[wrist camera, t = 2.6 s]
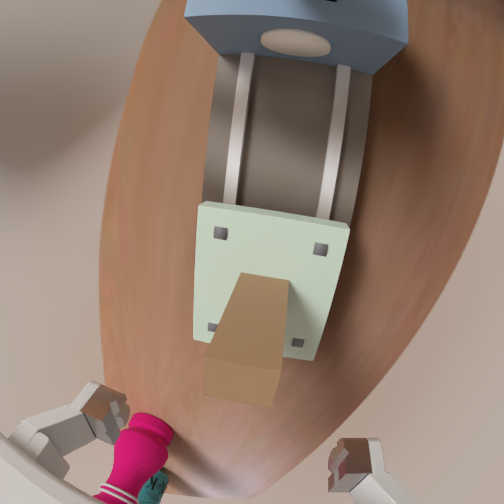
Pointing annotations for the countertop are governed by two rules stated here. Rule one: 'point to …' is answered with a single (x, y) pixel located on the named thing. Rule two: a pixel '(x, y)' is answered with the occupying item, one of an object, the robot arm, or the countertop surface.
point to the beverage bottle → (153, 489)
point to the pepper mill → (136, 459)
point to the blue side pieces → (305, 29)
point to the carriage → (261, 294)
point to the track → (287, 136)
